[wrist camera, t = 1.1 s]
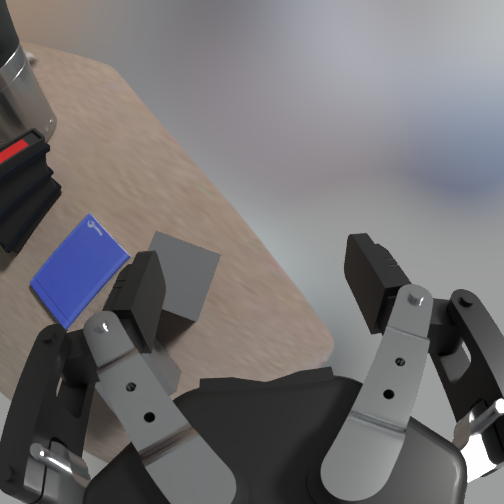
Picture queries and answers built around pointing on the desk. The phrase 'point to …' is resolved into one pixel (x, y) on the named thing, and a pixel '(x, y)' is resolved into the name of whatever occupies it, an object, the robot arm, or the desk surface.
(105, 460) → the desk surface
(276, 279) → the desk surface
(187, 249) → the grey tall block
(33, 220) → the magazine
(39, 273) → the hard drive
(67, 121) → the desk surface
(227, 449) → the robot arm
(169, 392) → the cube cover
